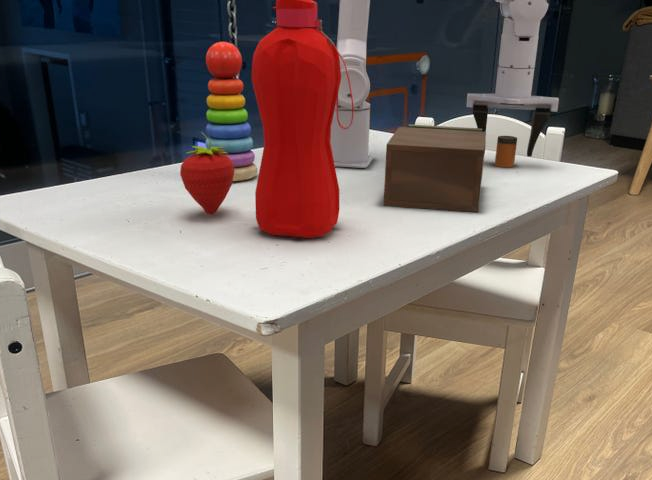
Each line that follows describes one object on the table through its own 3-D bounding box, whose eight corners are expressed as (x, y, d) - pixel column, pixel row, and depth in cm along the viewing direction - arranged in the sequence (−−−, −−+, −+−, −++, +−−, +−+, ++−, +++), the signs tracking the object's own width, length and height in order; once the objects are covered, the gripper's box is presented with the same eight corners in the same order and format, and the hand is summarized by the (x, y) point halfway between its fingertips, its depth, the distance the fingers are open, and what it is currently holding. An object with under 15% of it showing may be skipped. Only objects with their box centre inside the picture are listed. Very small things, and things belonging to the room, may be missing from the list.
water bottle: (341, 245, 82) (347, -2, 70) (249, 236, 84) (239, -6, 72) (357, 222, 90) (364, -3, 78) (272, 215, 92) (267, -6, 80)
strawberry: (172, 217, 90) (164, 134, 85) (210, 204, 95) (205, 125, 91) (210, 225, 87) (204, 140, 83) (247, 211, 93) (243, 130, 88)
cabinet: (395, 182, 109) (398, 126, 105) (479, 188, 107) (486, 131, 104) (383, 205, 97) (386, 143, 94) (477, 212, 95) (484, 150, 92)
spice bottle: (494, 166, 121) (497, 138, 119) (494, 162, 124) (497, 135, 121) (513, 168, 120) (517, 139, 118) (513, 164, 123) (517, 136, 121)
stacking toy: (267, 174, 111) (263, 42, 103) (238, 185, 105) (232, 45, 96) (224, 168, 114) (217, 39, 106) (193, 178, 108) (183, 41, 99)
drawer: (409, 159, 120) (411, 119, 117) (478, 163, 118) (482, 123, 115) (396, 182, 105) (399, 138, 102) (475, 188, 103) (480, 143, 100)
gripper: (469, 67, 112) (461, 156, 119) (565, 71, 110) (551, 161, 116) (470, 63, 119) (463, 148, 125) (561, 67, 116) (548, 153, 123)
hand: (505, 154), depth 121 cm, fingers open, 7 cm apart
